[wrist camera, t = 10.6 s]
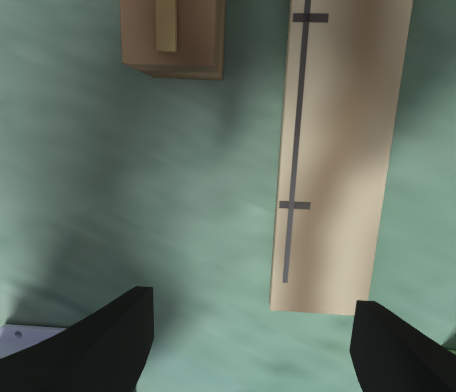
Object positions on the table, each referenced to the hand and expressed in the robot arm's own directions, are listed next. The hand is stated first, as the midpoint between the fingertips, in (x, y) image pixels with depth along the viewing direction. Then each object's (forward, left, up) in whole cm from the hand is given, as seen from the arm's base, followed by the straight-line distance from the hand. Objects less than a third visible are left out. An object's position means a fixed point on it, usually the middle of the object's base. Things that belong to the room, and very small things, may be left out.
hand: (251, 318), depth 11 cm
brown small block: (-4, +12, -10) cm, 16 cm away
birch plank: (+4, +7, -9) cm, 13 cm away
